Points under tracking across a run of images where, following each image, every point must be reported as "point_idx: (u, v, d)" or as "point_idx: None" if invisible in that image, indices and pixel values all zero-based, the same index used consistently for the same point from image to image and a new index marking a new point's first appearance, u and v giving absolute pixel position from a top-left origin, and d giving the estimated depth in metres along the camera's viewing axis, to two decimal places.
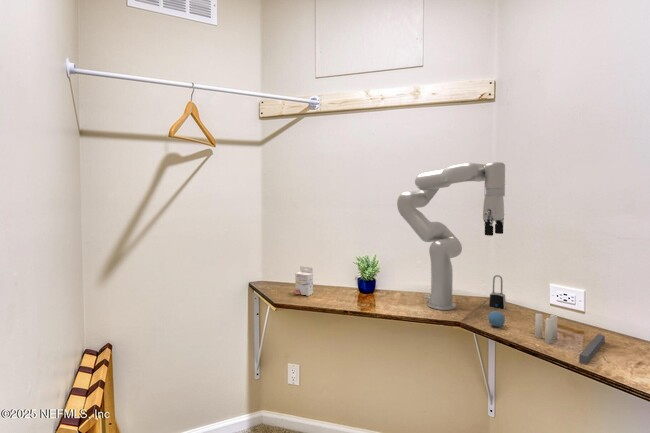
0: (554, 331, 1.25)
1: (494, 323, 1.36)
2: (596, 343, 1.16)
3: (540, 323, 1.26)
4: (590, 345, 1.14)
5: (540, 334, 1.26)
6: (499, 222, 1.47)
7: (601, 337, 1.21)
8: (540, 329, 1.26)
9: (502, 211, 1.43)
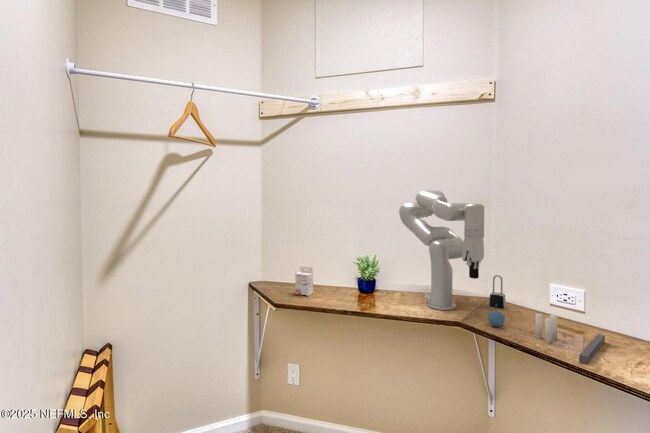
0: (554, 331, 1.25)
1: (494, 323, 1.36)
2: (596, 343, 1.16)
3: (540, 323, 1.26)
4: (590, 345, 1.14)
5: (540, 334, 1.26)
6: None
7: (601, 337, 1.21)
8: (540, 329, 1.26)
9: (482, 252, 1.44)
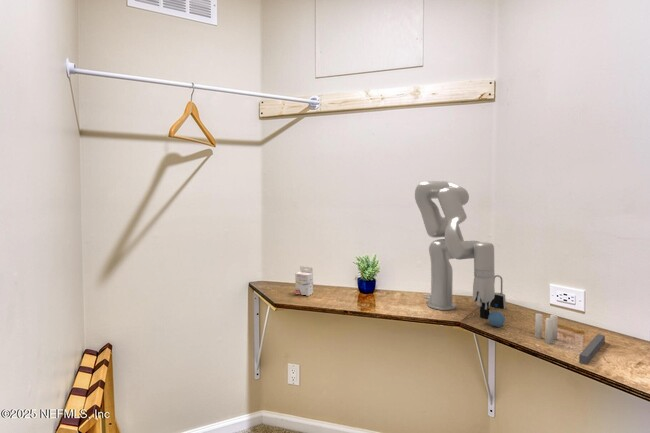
0: (554, 331, 1.25)
1: (494, 323, 1.36)
2: (596, 343, 1.16)
3: (540, 323, 1.26)
4: (590, 345, 1.14)
5: (540, 334, 1.26)
6: None
7: (601, 337, 1.21)
8: (540, 329, 1.26)
9: (492, 292, 1.41)
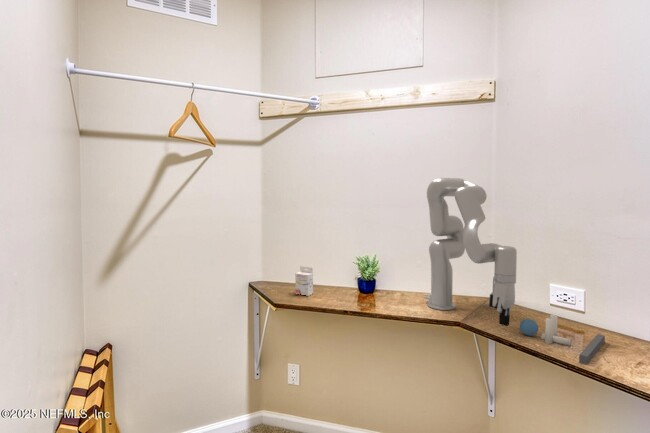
0: (554, 331, 1.25)
1: (526, 326, 1.27)
2: (596, 343, 1.16)
3: (559, 343, 1.22)
4: (590, 345, 1.14)
5: None
6: None
7: (601, 337, 1.21)
8: None
9: (513, 297, 1.35)
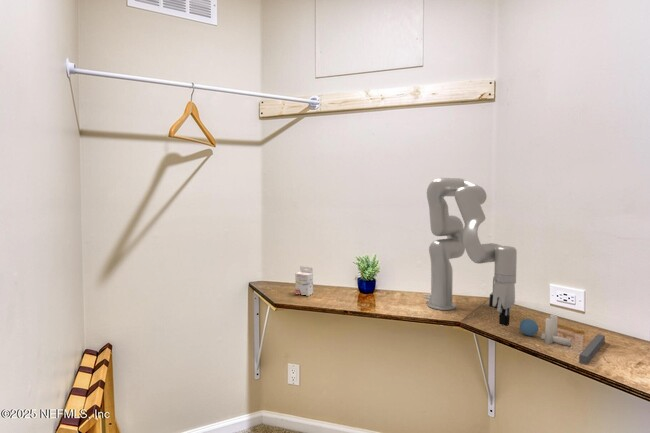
0: (554, 331, 1.25)
1: (526, 326, 1.27)
2: (596, 343, 1.16)
3: (559, 343, 1.22)
4: (590, 345, 1.14)
5: None
6: None
7: (601, 337, 1.21)
8: None
9: (513, 297, 1.35)
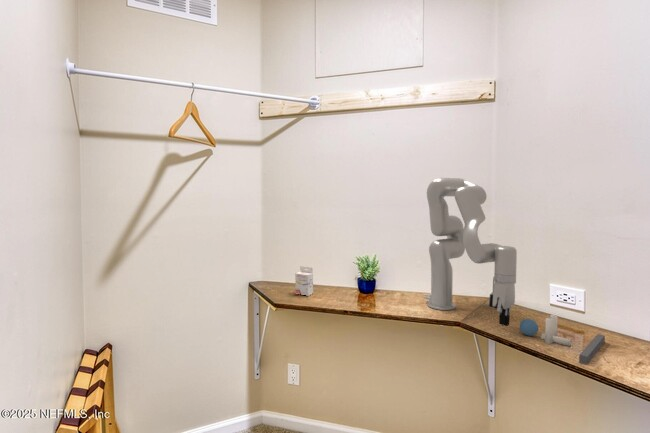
0: (554, 331, 1.25)
1: (526, 326, 1.27)
2: (596, 343, 1.16)
3: (559, 343, 1.22)
4: (590, 345, 1.14)
5: None
6: None
7: (601, 337, 1.21)
8: None
9: (513, 297, 1.35)
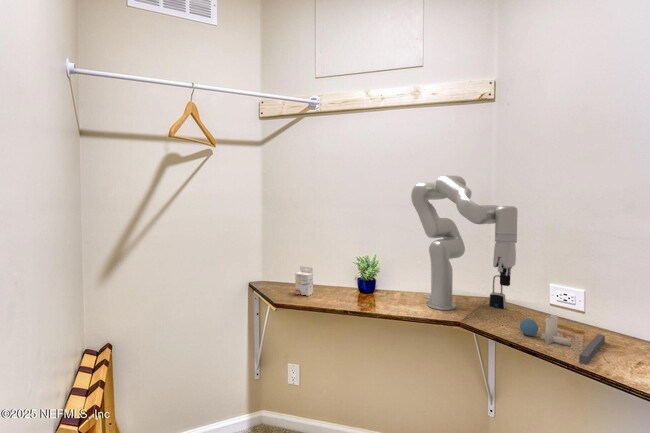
0: (554, 331, 1.25)
1: (526, 326, 1.27)
2: (596, 343, 1.16)
3: (559, 343, 1.22)
4: (590, 345, 1.14)
5: None
6: None
7: (601, 337, 1.21)
8: None
9: (514, 257, 1.35)
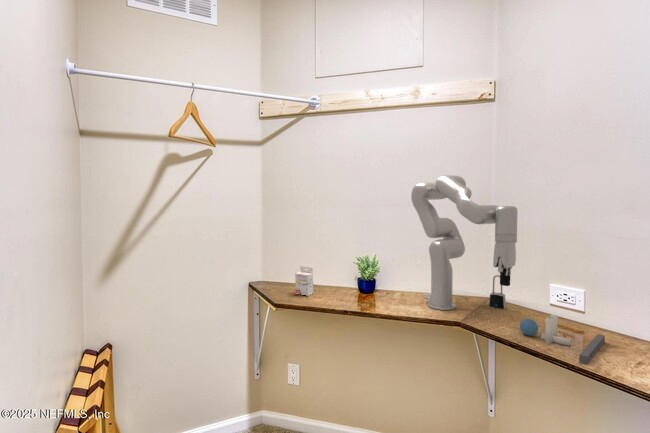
0: (554, 331, 1.25)
1: (526, 326, 1.27)
2: (596, 343, 1.16)
3: (559, 343, 1.22)
4: (590, 345, 1.14)
5: None
6: None
7: (601, 337, 1.21)
8: None
9: (514, 257, 1.35)
